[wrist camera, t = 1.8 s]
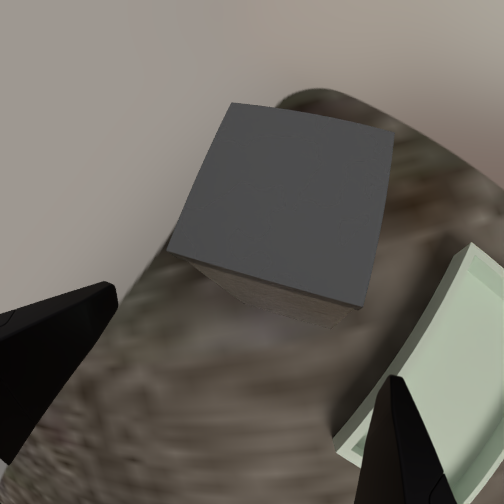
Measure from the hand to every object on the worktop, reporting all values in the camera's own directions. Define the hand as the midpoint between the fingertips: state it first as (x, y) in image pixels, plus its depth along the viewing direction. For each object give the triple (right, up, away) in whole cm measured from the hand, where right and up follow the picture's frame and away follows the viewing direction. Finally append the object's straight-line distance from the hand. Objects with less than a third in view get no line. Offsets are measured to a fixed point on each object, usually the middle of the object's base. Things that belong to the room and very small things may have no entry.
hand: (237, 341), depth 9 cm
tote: (+14, -7, +8) cm, 18 cm away
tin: (+4, +1, +12) cm, 13 cm away
